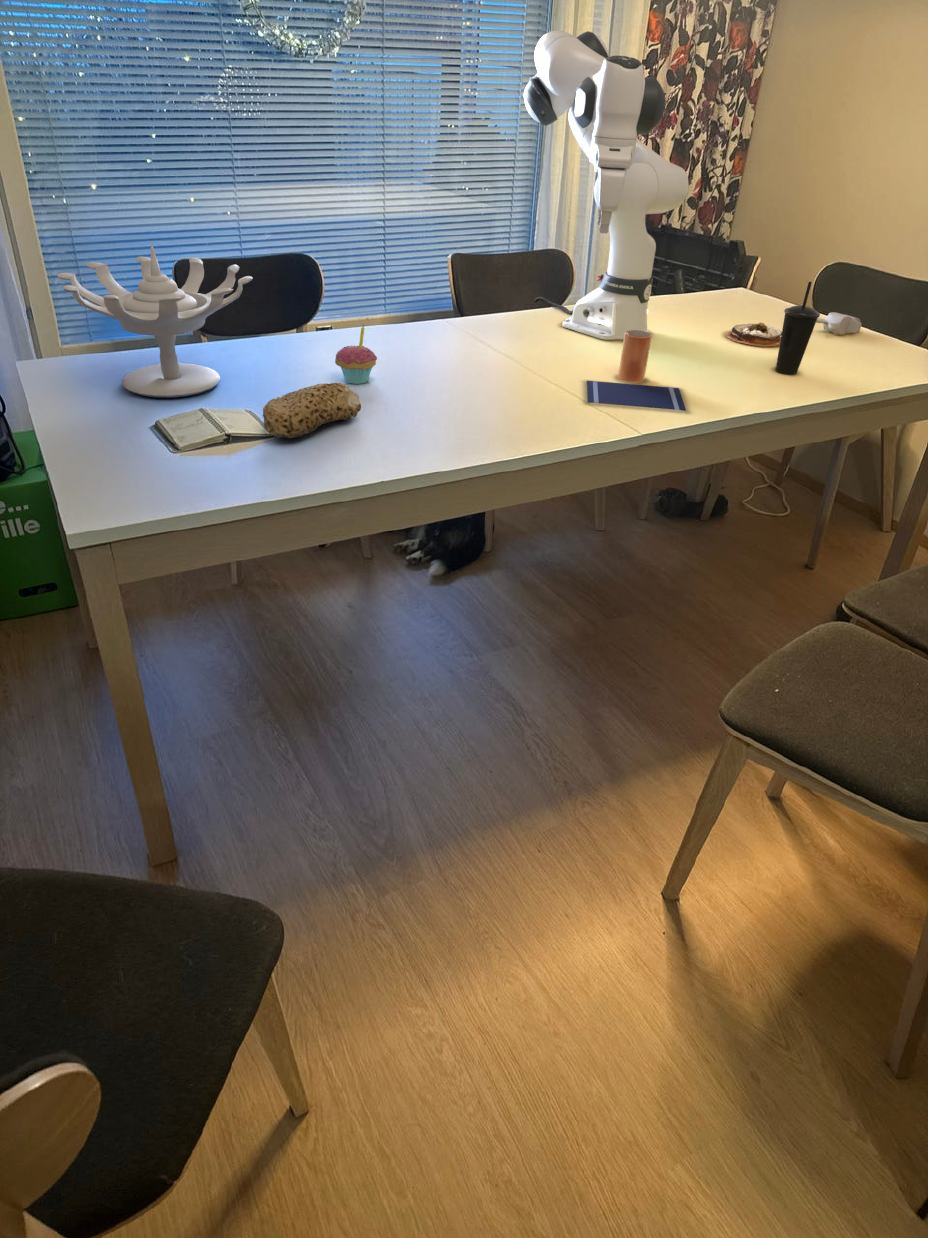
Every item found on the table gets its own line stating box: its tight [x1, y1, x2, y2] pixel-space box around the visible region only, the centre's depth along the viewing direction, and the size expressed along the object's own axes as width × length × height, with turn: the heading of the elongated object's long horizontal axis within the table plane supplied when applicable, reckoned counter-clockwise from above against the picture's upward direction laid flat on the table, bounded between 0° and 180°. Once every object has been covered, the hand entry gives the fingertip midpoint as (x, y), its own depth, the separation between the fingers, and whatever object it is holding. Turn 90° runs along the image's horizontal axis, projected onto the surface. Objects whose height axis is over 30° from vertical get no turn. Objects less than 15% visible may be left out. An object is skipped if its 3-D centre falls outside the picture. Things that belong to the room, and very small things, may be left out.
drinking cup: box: [775, 281, 821, 376], centre depth 190 cm, size 8×8×20 cm
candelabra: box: [56, 241, 254, 399], centre depth 161 cm, size 34×35×27 cm
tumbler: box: [617, 330, 653, 383], centre depth 182 cm, size 6×6×10 cm
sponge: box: [262, 382, 362, 439], centre depth 151 cm, size 13×8×20 cm
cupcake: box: [334, 323, 378, 385], centre depth 172 cm, size 9×8×12 cm
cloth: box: [586, 380, 687, 412], centre depth 176 cm, size 20×14×1 cm
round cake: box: [725, 322, 782, 347], centre depth 217 cm, size 15×15×4 cm
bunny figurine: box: [815, 311, 863, 336], centre depth 226 cm, size 10×5×15 cm
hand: (602, 228), depth 175 cm, fingers open, 8 cm apart
